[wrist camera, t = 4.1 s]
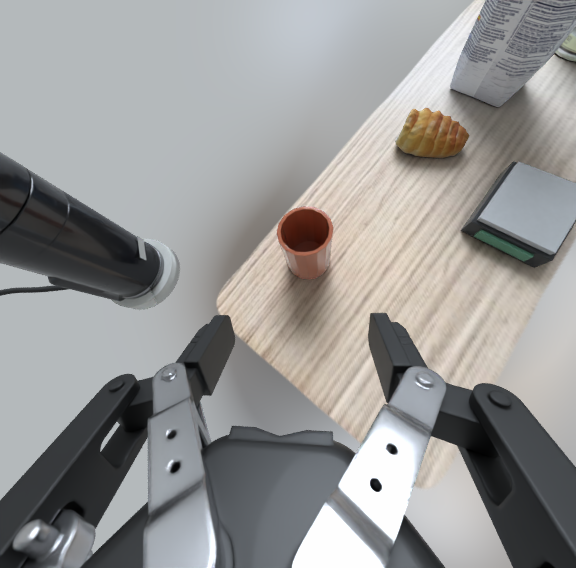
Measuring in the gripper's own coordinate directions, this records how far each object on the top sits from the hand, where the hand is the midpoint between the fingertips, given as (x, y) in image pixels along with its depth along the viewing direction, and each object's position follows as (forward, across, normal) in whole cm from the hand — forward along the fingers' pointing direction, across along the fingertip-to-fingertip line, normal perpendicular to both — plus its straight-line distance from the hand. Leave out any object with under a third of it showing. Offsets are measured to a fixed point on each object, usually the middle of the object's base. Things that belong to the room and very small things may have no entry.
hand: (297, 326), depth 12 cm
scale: (+23, -27, 0) cm, 35 cm away
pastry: (+33, -18, -10) cm, 39 cm away
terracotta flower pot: (+19, 0, +4) cm, 20 cm away
